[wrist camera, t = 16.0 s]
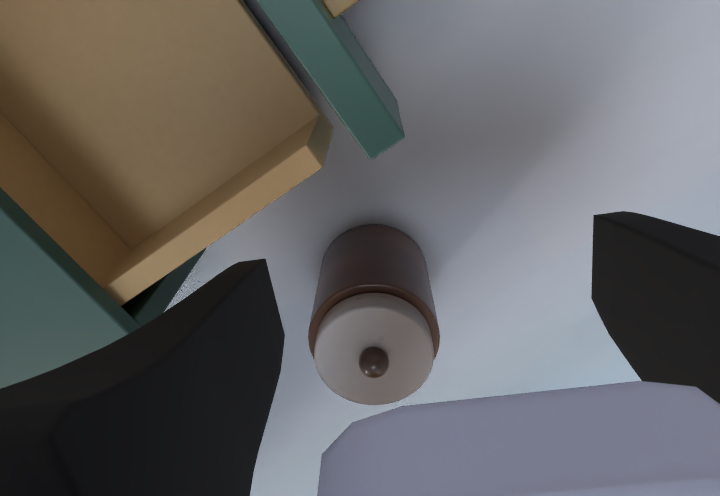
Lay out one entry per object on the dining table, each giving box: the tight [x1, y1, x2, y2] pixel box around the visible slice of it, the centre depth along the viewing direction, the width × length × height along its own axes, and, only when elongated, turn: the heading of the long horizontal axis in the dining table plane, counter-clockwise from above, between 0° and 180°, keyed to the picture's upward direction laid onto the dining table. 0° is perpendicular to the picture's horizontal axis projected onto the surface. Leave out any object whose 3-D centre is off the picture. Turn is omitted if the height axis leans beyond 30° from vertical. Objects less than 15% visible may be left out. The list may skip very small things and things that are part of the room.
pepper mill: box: [308, 225, 440, 405], centre depth 21 cm, size 5×5×7 cm
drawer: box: [0, 0, 405, 306], centre depth 16 cm, size 16×13×6 cm
